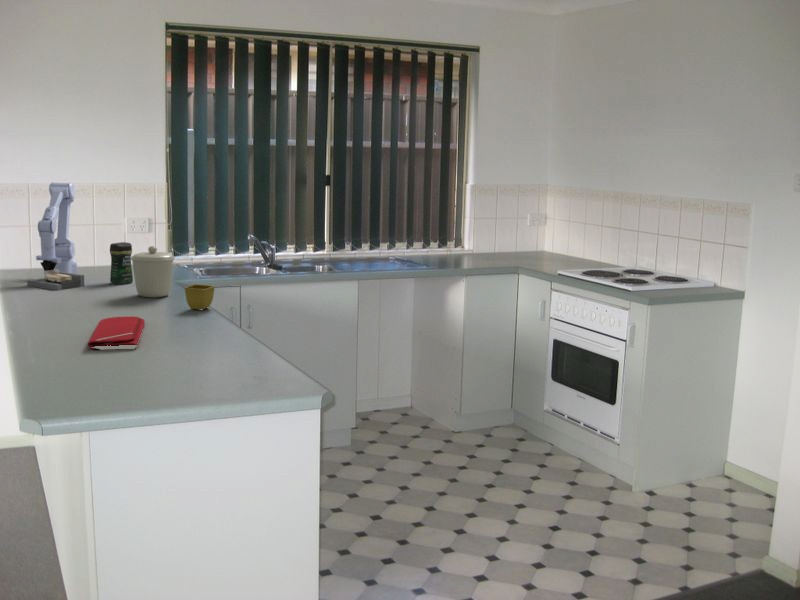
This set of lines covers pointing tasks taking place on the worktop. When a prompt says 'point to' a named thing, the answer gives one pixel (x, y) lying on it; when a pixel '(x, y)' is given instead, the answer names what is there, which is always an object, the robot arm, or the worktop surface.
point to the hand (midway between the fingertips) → (49, 277)
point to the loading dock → (75, 282)
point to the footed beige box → (56, 276)
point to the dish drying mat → (117, 331)
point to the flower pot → (199, 296)
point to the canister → (153, 272)
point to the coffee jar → (121, 263)
